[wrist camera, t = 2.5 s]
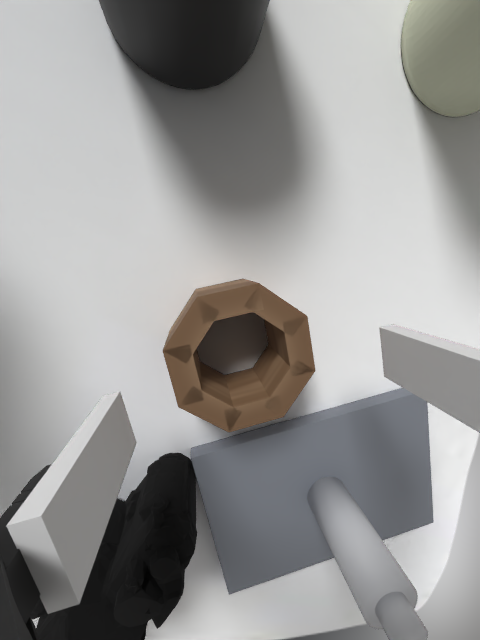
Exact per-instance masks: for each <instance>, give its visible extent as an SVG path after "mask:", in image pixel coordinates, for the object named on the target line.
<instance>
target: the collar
mask: <svg viewBox="0 0 480 640" xmlns="http://www.w3.org/2000/svg"><path fill="white" fill-rule="evenodd" d="M251 312H254V313H256V314H257V315H259V316H260V317H262V318H263V319H264V323H265V328H266V333H267V339H268V346H267V347H266V349H265V350H264V352H263V353H262V355H261V356H260V358H259V359H258V361H257V362H256V364H255V365H254V367H253V368H251V369H247V370H243V371H239V372H235V373H231V374H227V375H223V374H222V373H220V372H218V371H216V370H214V369H213V368H211V367H209V366H207V365H205V364H204V363H202V362H200V360H199V356H198V352H197V347H198V345H199V344H200V342H201V341H202V339H203V338H204V336H205V334H206V333H207V331H208V330H209V328H210V327H211V325H212V324H213V322H214V321H217V320H221V319H225V318H229V317H234V316H238V315H242V314H247V313H251ZM163 353H164V357H165V361H166V364H167V368H168V371H169V375H170V379H171V382H172V386H173V389H174V393H175V397H176V400H177V404H178V407H179V408H181V409H183V410H185V411H187V412H189V413H191V414H193V415H195V416H197V417H199V418H201V419H203V420H205V421H207V422H209V423H211V424H213V425H215V426H217V427H219V428H221V429H223V430H225V431H227V432H232V431H236V430H239V429H243V428H246V427H250V426H253V425H257V424H260V423H264V422H267V421H271V420H274V419H278V418H282V417H284V416H285V414H286V413H287V411H288V410H289V408H290V407H291V405H292V404H293V403H294V401H295V400H296V398H297V397H298V395H299V394H300V392H301V391H302V389H303V388H304V387H305V385H306V384H307V382H308V381H309V379H310V378H311V376H312V375H313V373H314V372H315V365H314V358H313V352H312V345H311V338H310V331H309V325H308V318H307V316H306V315H305V314H304V313H302V312H301V311H299V310H298V309H296V308H295V307H293V306H292V305H290V304H289V303H287V302H286V301H284V300H283V299H281V298H280V297H278V296H277V295H276V294H274V293H273V292H271V291H270V290H268V289H267V288H265V287H264V286H262V285H261V284H259V283H256V282H253V281H249V280H246V279H240V280H235V281H231V282H226V283H221V284H217V285H212V286H208V287H203V288H198V289H196V290H195V291H194V293H193V294H192V296H191V298H190V299H189V301H188V302H187V304H186V305H185V307H184V309H183V310H182V312H181V313H180V315H179V317H178V318H177V320H176V321H175V323H174V324H173V326H172V328H171V329H170V332H169V334H168V337H167V340H166V343H165V346H164V348H163Z"/></svg>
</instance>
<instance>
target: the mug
mask: <svg viewBox="0 0 480 640" xmlns="http://www.w3.org/2000/svg"><path fill="white" fill-rule="evenodd" d="M99 2H100V5H101V8H102V10H103V13H104V16H105V18H106V21H107V24H108V26H109V27H110V29H111V31H112V33H113V35H114V37H115V38H116V40H117V41H118V43H119V44H120V46H121V47H122V49H123V50H124V51H125V52H126V54H127V55H128V56H129V57H130V58H131V59H132V60H133V61H134V62H135V63H136V64H137V65H138V66H140V67H141V68H142V69H143V70H144V71H145V72H147V73H148V74H150V75H151V76H153V77H155V78H156V79H158V80H160V81H162V82H164V83H166V84H169V85H171V86H175V87H179V88H184V89H203V88H208V87H212V86H215V85H218V84H220V83H222V82H223V81H225V80H227V79H228V78H230V77H231V76H233V75H234V74H235V73H237V72H238V71H239V70H240V69H241V68H242V66H243V65H244V64H245V63H246V62H247V60H248V59H249V57H250V56H251V54H252V52H253V51H254V48H255V46H256V44H257V41H258V38H259V35H260V32H261V28H262V25H263V21H264V18H265V14H266V11H267V7H268V4H269V0H99Z"/></svg>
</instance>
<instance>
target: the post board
mask: <svg viewBox="0 0 480 640" xmlns="http://www.w3.org/2000/svg"><path fill="white" fill-rule="evenodd" d="M191 460H192V464H193V467H194V471H195V475H196V478H197V482H198V485H199V489H200V492H201V496H202V500H203V503H204V507H205V510H206V514H207V517H208V521H209V525H210V528H211V532H212V535H213V539H214V542H215V546H216V550H217V553H218V557H219V560H220V564H221V567H222V571H223V575H224V578H225V582H226V585H227V589H228V592H229V594H232V593H235V592H238V591H241V590H243V589H246V588H249V587H252V586H255V585H258V584H260V583H263V582H266V581H269V580H272V579H275V578H277V577H280V576H283V575H286V574H289V573H291V572H294V571H297V570H300V569H303V568H306V567H308V566H311V565H314V564H317V563H320V562H323V561H325V560H328V559H331V558H334V557H335V559H336V561H337V563H338V565H339V567H340V570H341V572H342V574H343V576H344V578H345V580H346V582H347V584H348V586H349V588H350V590H351V592H352V594H353V596H354V598H355V601H356V603H357V605H358V607H359V609H360V611H361V613H362V615H363V617H364V619H365V621H366V623H367V624H368V625H369V626H371V627H373V628H376V629H384V631H385V633H386V635H387V637H388V639H389V640H427V636H428V631H427V629H426V627H425V626H424V624H423V623H422V621H421V620H420V618H419V616H418V615H417V613H416V612H415V610H414V608H415V606H416V603H417V591H416V589H415V588H414V586H413V585H412V583H411V582H410V580H409V579H408V577H407V576H406V574H405V573H404V572H403V570H402V569H401V567H400V566H399V564H398V563H397V561H396V560H395V558H394V557H393V555H392V554H391V553H390V551H389V550H388V548H387V547H386V545H385V544H384V542H383V541H382V540H385V539H388V538H391V537H393V536H396V535H399V534H402V533H405V532H408V531H410V530H413V529H416V528H419V527H422V526H425V525H427V524H430V523H433V505H432V485H431V466H430V446H429V426H428V407H427V401H425V400H423V399H421V398H420V397H418V396H416V395H415V394H413V393H411V392H410V391H408V390H406V389H405V388H401V389H397V390H394V391H390V392H386V393H383V394H379V395H376V396H372V397H369V398H365V399H362V400H358V401H355V402H351V403H348V404H344V405H341V406H337V407H334V408H330V409H327V410H323V411H320V412H316V413H313V414H309V415H306V416H302V417H299V418H295V419H292V420H288V421H285V422H281V423H278V424H274V425H271V426H267V427H263V428H260V429H256V430H253V431H249V432H246V433H242V434H239V435H235V436H232V437H228V438H225V439H221V440H218V441H214V442H211V443H207V444H204V445H200V446H197V447H193V448H191Z"/></svg>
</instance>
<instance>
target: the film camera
mask: <svg viewBox="0 0 480 640" xmlns="http://www.w3.org/2000/svg"><path fill="white" fill-rule="evenodd" d="M196 537H197V530H196V475H195V471H194V467H193V464H192V461H191V460H190V459H189V458H188V457H186V456H184V455H183V454H181V453H169V454H165V455H163V456H161V457H160V458H159V460H157V461H155V462H154V463H152V464H151V465H150V466H149V467H148V470H147V475H146V477H145V478H144V479H143V480H142V482H141V483H140V484H139V486H138V487H137V489H136V490H134V491H132V492H131V493H130V495H129V496H128V498H127V500H126V501H125V502H122V501H120V500H118V499H116V502H115V505H114V508H113V510H112V513H111V516H110V519H109V522H108V524H107V527H106V530H105V533H104V536H103V539H102V541H101V544H100V547H99V550H98V553H97V555H96V558H95V561H94V564H93V567H92V570H91V572H90V575H89V578H88V581H87V584H86V587H85V589H84V592H83V595H82V598H81V601H80V603H79V604H78V605H75V606H71V607H68V608H65V609H62V610H59V611H56V612H53V613H50V614H48V613H47V611H46V609H45V607H44V605H43V603H42V601H41V599H40V597H39V599H38V601H37V603H36V605H35V607H34V609H33V611H32V613H31V615H30V617H31V619H35V618H38V617H40V618H39V621H38V625H37V628H36V631H37V634H38V638H39V640H144V639H145V635H146V626H147V622H148V621H149V620H150V619H152V620H153V622H154V624H155V626H156V628H159V627H160V626H161V625H162V624H163V623H164V621H165V620H166V619H167V617H168V616H169V614H170V613H171V612H172V610H173V609H174V608H175V607H176V605H177V604H178V602H179V600H180V598H181V596H182V594H183V589H184V573H185V569H186V567H187V566H188V564H189V562H190V559H191V557H192V555H193V554H194V550H195V544H196Z"/></svg>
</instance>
